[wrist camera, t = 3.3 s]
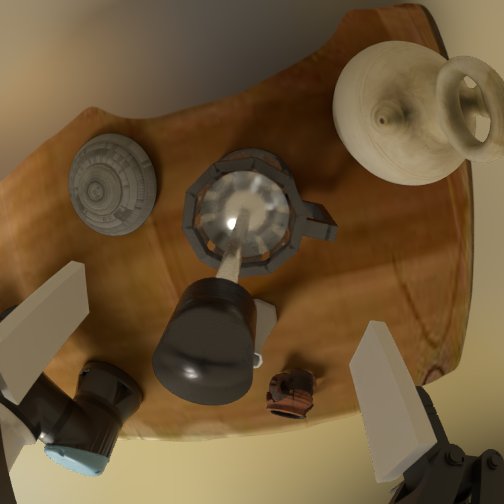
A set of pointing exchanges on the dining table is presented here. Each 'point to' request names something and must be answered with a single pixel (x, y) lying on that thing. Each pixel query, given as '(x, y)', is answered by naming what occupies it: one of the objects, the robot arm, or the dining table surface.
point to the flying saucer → (112, 184)
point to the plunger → (222, 295)
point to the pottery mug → (286, 402)
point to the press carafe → (298, 208)
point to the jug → (417, 112)
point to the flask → (263, 327)
